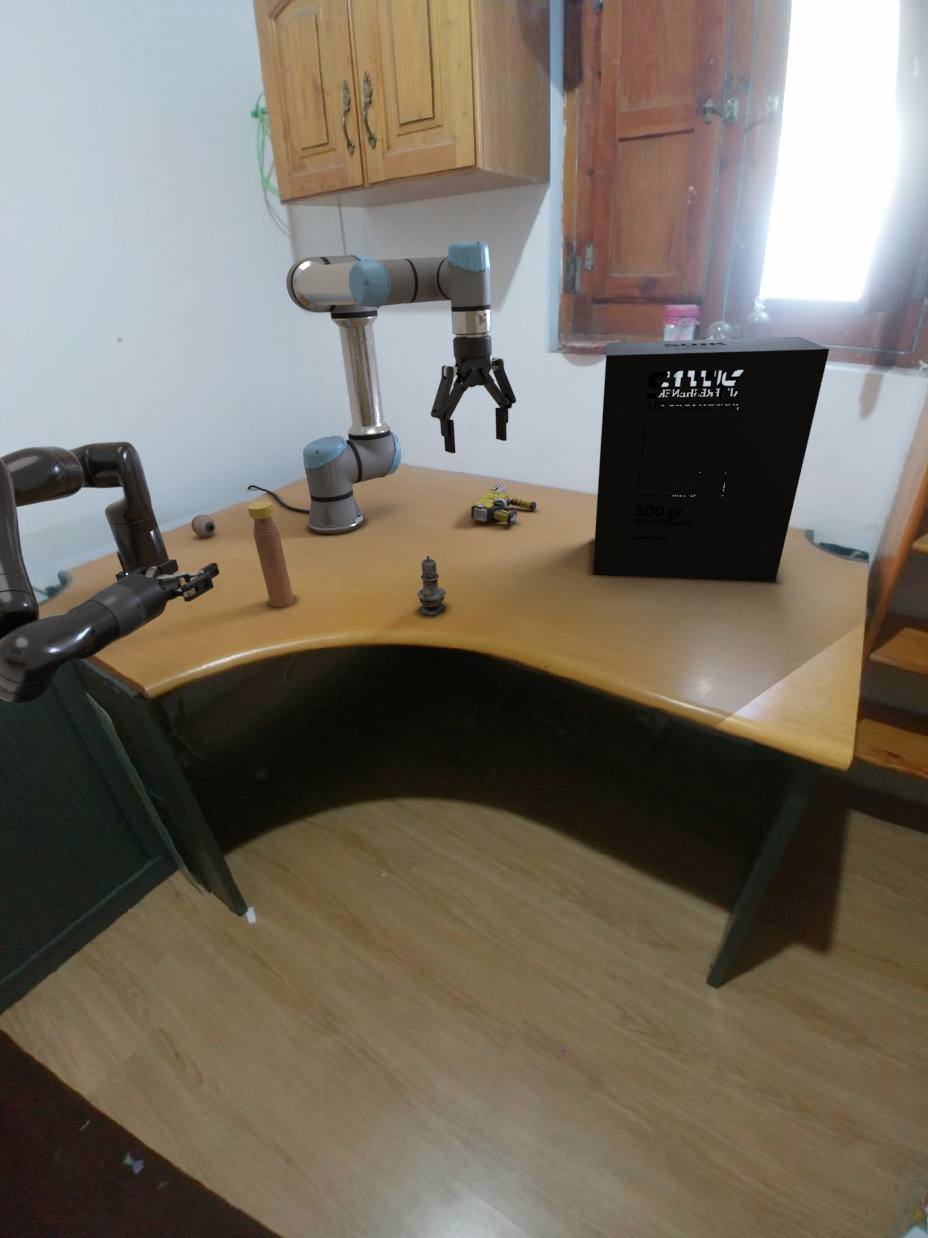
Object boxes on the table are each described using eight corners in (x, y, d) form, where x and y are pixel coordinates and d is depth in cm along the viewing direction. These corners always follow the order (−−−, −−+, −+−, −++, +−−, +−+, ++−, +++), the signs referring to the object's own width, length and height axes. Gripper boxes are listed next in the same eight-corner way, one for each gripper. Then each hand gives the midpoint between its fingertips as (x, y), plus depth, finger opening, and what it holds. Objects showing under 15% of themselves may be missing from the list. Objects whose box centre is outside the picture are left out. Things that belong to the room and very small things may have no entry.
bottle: (284, 594, 134) (263, 501, 123) (298, 600, 131) (278, 505, 120) (265, 603, 130) (242, 508, 120) (279, 609, 128) (257, 513, 117)
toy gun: (544, 489, 177) (495, 482, 181) (524, 514, 157) (469, 505, 161) (542, 504, 180) (494, 497, 183) (522, 531, 159) (468, 521, 163)
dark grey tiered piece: (443, 616, 121) (439, 562, 115) (415, 615, 122) (409, 561, 116) (449, 602, 126) (446, 549, 120) (422, 601, 127) (417, 548, 121)
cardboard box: (755, 543, 144) (798, 336, 121) (775, 581, 127) (829, 348, 104) (594, 538, 151) (606, 342, 129) (592, 573, 134) (606, 355, 112)
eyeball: (204, 541, 163) (198, 520, 160) (190, 537, 166) (184, 517, 163) (223, 533, 168) (217, 513, 165) (208, 530, 171) (202, 510, 168)
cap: (264, 509, 123) (262, 499, 122) (278, 513, 121) (276, 503, 120) (245, 516, 120) (243, 506, 119) (259, 520, 118) (257, 510, 117)
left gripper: (154, 589, 87) (225, 548, 100) (78, 581, 91) (156, 543, 104) (169, 634, 90) (235, 588, 104) (95, 625, 94) (168, 582, 108)
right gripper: (429, 342, 108) (437, 460, 118) (533, 329, 120) (532, 437, 131) (407, 340, 113) (417, 454, 124) (508, 328, 125) (510, 432, 136)
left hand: (195, 566), depth 104 cm, fingers open, 8 cm apart
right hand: (476, 445), depth 127 cm, fingers open, 13 cm apart
